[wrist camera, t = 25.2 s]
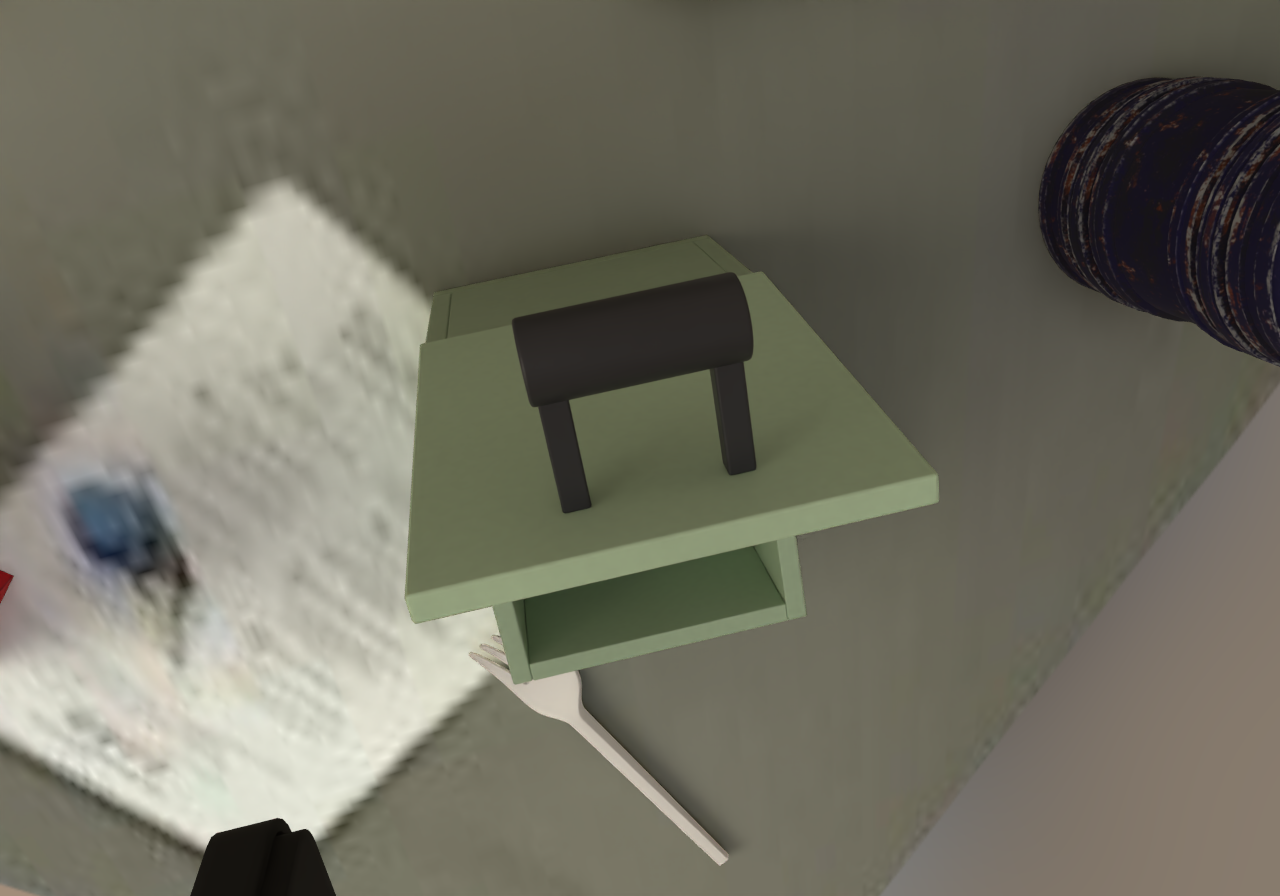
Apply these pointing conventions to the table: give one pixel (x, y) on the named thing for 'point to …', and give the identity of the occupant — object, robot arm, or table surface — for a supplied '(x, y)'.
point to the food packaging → (4, 583)
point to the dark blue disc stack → (1175, 204)
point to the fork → (596, 739)
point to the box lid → (637, 443)
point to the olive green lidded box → (649, 600)
